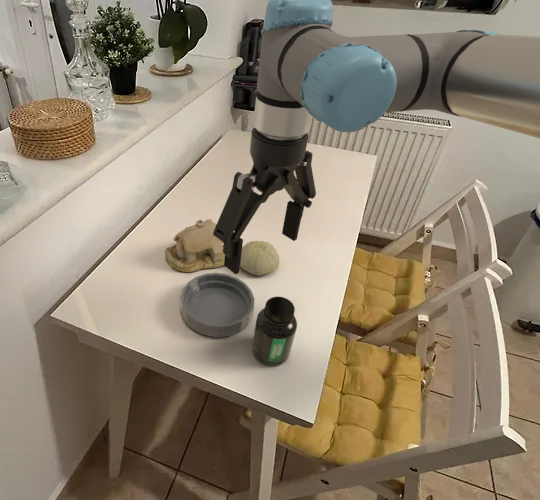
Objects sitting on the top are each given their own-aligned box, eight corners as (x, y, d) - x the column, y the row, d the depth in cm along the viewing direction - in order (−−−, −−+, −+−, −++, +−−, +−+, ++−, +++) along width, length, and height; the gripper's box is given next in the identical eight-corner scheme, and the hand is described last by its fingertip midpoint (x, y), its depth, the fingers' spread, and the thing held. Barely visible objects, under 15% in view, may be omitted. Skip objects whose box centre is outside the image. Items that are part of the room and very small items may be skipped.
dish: (266, 323, 83) (268, 310, 81) (201, 349, 78) (202, 336, 76) (229, 277, 93) (230, 265, 91) (169, 297, 88) (169, 285, 86)
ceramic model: (211, 234, 104) (213, 199, 98) (237, 261, 97) (241, 225, 91) (159, 252, 99) (157, 217, 92) (183, 282, 92) (183, 246, 85)
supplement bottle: (280, 373, 75) (292, 329, 67) (245, 356, 77) (252, 311, 70) (294, 346, 79) (307, 301, 71) (260, 330, 82) (269, 286, 74)
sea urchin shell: (226, 260, 94) (244, 228, 94) (240, 266, 101) (256, 237, 101) (261, 280, 90) (280, 246, 89) (272, 285, 96) (290, 254, 96)
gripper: (317, 100, 66) (294, 215, 79) (190, 144, 53) (188, 271, 67) (359, 116, 61) (327, 234, 74) (231, 168, 49) (220, 298, 62)
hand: (261, 252), depth 71 cm, fingers open, 13 cm apart
